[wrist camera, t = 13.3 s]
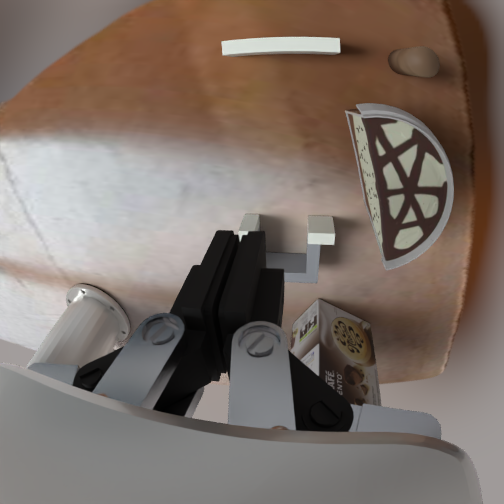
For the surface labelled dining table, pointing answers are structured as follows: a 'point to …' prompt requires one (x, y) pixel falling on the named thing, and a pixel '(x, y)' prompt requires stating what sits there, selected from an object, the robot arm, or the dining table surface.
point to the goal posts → (414, 61)
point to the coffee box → (338, 351)
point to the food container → (401, 180)
